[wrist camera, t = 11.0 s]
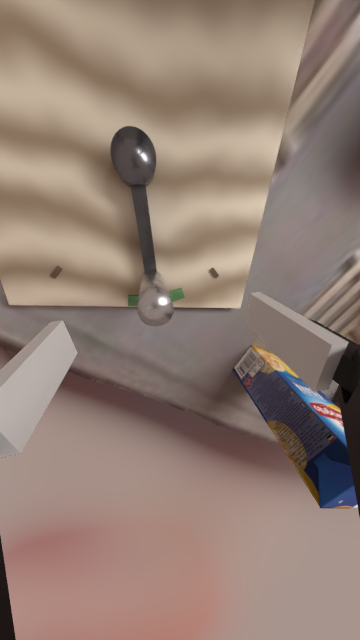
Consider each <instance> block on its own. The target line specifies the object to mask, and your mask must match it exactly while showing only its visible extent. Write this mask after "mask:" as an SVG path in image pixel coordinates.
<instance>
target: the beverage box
mask: <svg viewBox="0 0 360 640" xmlns="http://www.w3.org/2000/svg"><path fill="white" fill-rule="evenodd" d="M233 371H234V372H235V374H236V375H237V377H238V378H239V380H240V382H241V383H242V385H243V386H244V388H245V389H246V391H247V393H248V394H249V396H250V397H251V399H252V401H253V402H254V404H255V405H256V407H257V408H258V410H259V412H260V413H261V415H262V416H263V418H264V419H265V421H266V423H267V424H268V426H269V427H270V429H271V430H272V432H273V434H274V435H275V437H276V438H277V440H278V442H279V443H280V445H281V446H282V448H283V449H284V451H285V453H286V454H287V456H288V457H289V459H290V460H291V462H292V464H293V465H294V467H295V468H296V470H297V471H298V473H299V474H300V476H301V478H302V479H303V481H304V483H305V484H306V486H307V487H308V489H309V490H310V492H311V494H312V495H313V497H314V498H315V500H316V501H317V503H318V505H319V506H320V508H358V505H357V499H356V494H355V488H354V483H353V477H352V472H351V466H350V460H349V455H348V449H347V444H346V438H345V433H344V427H343V422H342V416H341V410H340V409H339V408H338V407H337V406H336V405H335V404H334V403H333V402H332V401H331V400H329V399H328V398H327V397H326V396H325V395H324V394H323V393H322V392H321V391H316V392H314V391H313V390H312V389H311V388H310V387H309V386H308V385H307V384H305V383H304V382H303V381H302V380H301V379H300V378H299V377H298V376H297V375H296V374H295V373H294V372H293V371H292V370H291V369H290V368H289V367H288V366H287V365H286V364H285V363H284V362H283V361H282V360H281V359H280V358H279V357H278V356H275V355H273V354H271V353H269V352H266V351H264V350H262V349H260V348H257V347H255V346H253V345H251V347H250V348H249V349H248V351H247V352H246V353H245V354H244V356H243V357H242V358H241V360H240V361H239V362H238V363H237V365H236V366H235V367H234V369H233Z"/></svg>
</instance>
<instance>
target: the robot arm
mask: <svg viewBox="0 0 360 640" xmlns="http://www.w3.org/2000/svg"><path fill="white" fill-rule="evenodd" d="M247 326H248V327H249V328H250V329H251V330H252V331H253V332H254V333H255V334H256V335H257V336H258V337H259V338H260V339H261V340H262V341H263V342H264V343H265V344H266V345H267V346H268V347H269V348H270V349H271V350H272V351H273V352H274V353H275V354H276V355H277V356H278V357H279V358H280V359H281V360H282V361H283V362H284V363H285V364H286V365H287V366H288V367H289V368H290V369H291V370H292V371H293V372H294V373H295V374H296V375H297V376H298V377H299V378H300V379H301V380H302V381H303V382H304V383H305V384H307V385H308V386H309V387H310V388H311V389H312V390H313V391H314V392H316V391H321V390H326V389H329V386H330V384H331V382H332V380H334V381H335V382H336V383H338V384H339V386H338V388H337V390H336V392H335V395H334V397H333V399H332V402H333V403H335V402H336V400H337V399H339V405H340V410H341V416H342V422H343V427H344V433H345V438H346V444H347V449H348V455H349V460H350V466H351V472H352V477H353V483H354V488H355V494H356V499H357V505H358V510H359V515H360V345H358V344H356V343H354V342H352V341H351V340H349V339H347V338H345V337H343V336H342V335H340V334H338V333H336V332H334V331H332V330H331V329H329V328H327V327H325V326H323V325H322V324H320V323H318V322H316V321H313V320H310V319H307V318H305V317H303V316H302V315H300V314H298V313H296V312H294V311H293V310H291V309H289V308H287V307H286V306H284V305H282V304H280V303H279V302H277V301H275V300H273V299H272V298H270V297H268V296H266V295H264V294H263V293H261V292H255V293H250V298H249V308H248V318H247ZM76 355H77V351H76V348H75V346H74V344H73V342H72V340H71V337H70V335H69V333H68V331H67V329H66V326H65V324H64V322H63V320H61V321H54V322H50V323H49V324H48V325H47V326H46V327H45V328H44V329H43V330H42V331H41V332H40V333H39V334H38V335H36V336H35V337H34V338H33V339H32V340H31V341H30V342H29V343H28V344H27V345H26V346H25V347H24V348H23V349H22V350H21V351H20V352H19V353H18V354H17V355H16V356H15V357H14V358H13V359H11V360H10V361H9V362H8V363H7V364H6V365H5V366H4V367H3V368H2V369H1V370H0V458H2V457H7V456H12V455H16V454H20V453H21V452H22V451H23V449H24V447H25V445H26V444H27V442H28V440H29V438H30V437H31V435H32V433H33V431H34V430H35V428H36V426H37V424H38V422H39V421H40V419H41V417H42V415H43V414H44V412H45V410H46V408H47V406H48V405H49V403H50V401H51V399H52V397H53V396H54V394H55V392H56V391H57V389H58V387H59V385H60V384H61V382H62V380H63V378H64V376H65V375H66V373H67V371H68V369H69V368H70V366H71V364H72V362H73V361H74V359H75V357H76ZM0 640H16V639H15V633H14V625H13V619H12V613H11V605H10V598H9V592H8V585H7V578H6V572H5V564H4V557H3V551H2V544H1V537H0Z"/></svg>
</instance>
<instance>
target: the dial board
mask: <svg viewBox="0 0 360 640" xmlns="http://www.w3.org/2000/svg"><path fill="white" fill-rule="evenodd" d="M314 2H315V0H0V280H1V283H2V286H3V289H4V291H5V294H6V297H7V300H8V303H9V305H43V306H117V307H138V299H139V291H140V282H141V276H142V274H143V273H144V272H145V271H144V265H143V259H142V253H141V247H140V240H139V234H138V228H137V222H136V216H135V209H134V203H133V197H132V191H131V187H129V186H127V185H126V184H125V183H124V182H123V181H122V180H121V179H120V177H119V176H118V174H117V172H116V170H115V168H114V165H113V163H112V159H111V154H110V147H111V142H112V139H113V137H114V135H115V133H116V132H117V131H118V130H119V129H121V128H123V127H125V126H134V127H137V128H139V129H141V130H142V131H144V132H145V133H146V134H147V135H148V137H149V138H150V140H151V141H152V143H153V146H154V148H155V152H156V167H155V174H154V177H153V179H152V181H151V183H150V184H149V185H148V186H146V192H147V200H148V208H149V215H150V223H151V231H152V238H153V246H154V253H155V261H156V269H157V271H158V272H160V273H161V275H162V277H163V279H164V282H165V285H166V287H167V290H168V293H169V296H170V298H171V301H172V304H173V307H192V308H240V307H241V303H242V299H243V295H244V291H245V286H246V282H247V278H248V274H249V270H250V266H251V262H252V258H253V253H254V249H255V245H256V241H257V237H258V233H259V229H260V225H261V221H262V216H263V212H264V208H265V204H266V200H267V196H268V192H269V188H270V183H271V179H272V175H273V171H274V167H275V163H276V159H277V155H278V151H279V146H280V142H281V138H282V134H283V130H284V126H285V122H286V118H287V113H288V109H289V105H290V101H291V97H292V93H293V89H294V85H295V81H296V76H297V72H298V68H299V64H300V60H301V56H302V52H303V48H304V43H305V39H306V35H307V31H308V27H309V23H310V19H311V15H312V11H313V6H314Z"/></svg>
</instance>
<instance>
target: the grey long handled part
mask: <svg viewBox="0 0 360 640" xmlns="http://www.w3.org/2000/svg"><path fill="white" fill-rule="evenodd" d="M110 154H111V159H112V163H113V165H114V168H115V170H116V172H117V174H118V176H119V177H120V179H121V180H122V181H123V182H124V183H125V184H126V185H127V186H129V187H131V191H132V197H133V203H134V209H135V216H136V222H137V228H138V234H139V240H140V247H141V253H142V259H143V265H144V271H145V272H144V273H143V274H142V276H141V282H140V291H139V299H138V308H137V311H138V315H139V317H140V319H141V320H142V321H143V322H144V323H145V324H147V325H150V326H161V325H163V324H165V323H167V322H168V321H169V320H170V319H171V317H172V315H173V311H174V307H173V304H172V301H171V298H170V296H169V293H168V290H167V287H166V285H165V282H164V279H163V277H162V275H161V273H160V272H158V271H157V269H156V261H155V253H154V246H153V238H152V231H151V223H150V215H149V208H148V200H147V192H146V186H148V185H149V184H150V183H151V181H152V179H153V177H154V174H155V167H156V152H155V148H154V146H153V143H152V141H151V140H150V138H149V137H148V135H147V134H146V133H145V132H144V131H142V130H141V129H139V128H137V127H134V126H125V127H123V128H121V129H119V130H118V131H117V132H116V133H115V135H114V137H113V139H112V142H111V147H110Z"/></svg>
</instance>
